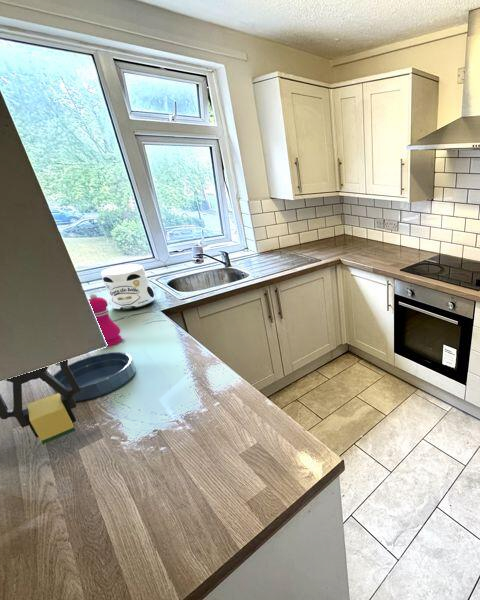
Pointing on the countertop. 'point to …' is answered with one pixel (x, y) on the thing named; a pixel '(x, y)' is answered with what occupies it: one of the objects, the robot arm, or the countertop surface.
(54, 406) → the sponge
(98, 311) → the pepper mill
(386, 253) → the countertop surface
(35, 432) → the robot arm
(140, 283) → the milk container
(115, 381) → the bowl
